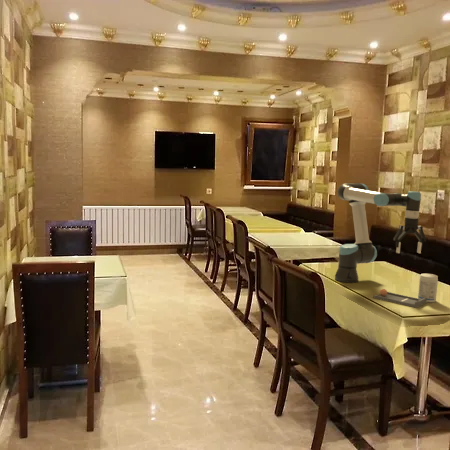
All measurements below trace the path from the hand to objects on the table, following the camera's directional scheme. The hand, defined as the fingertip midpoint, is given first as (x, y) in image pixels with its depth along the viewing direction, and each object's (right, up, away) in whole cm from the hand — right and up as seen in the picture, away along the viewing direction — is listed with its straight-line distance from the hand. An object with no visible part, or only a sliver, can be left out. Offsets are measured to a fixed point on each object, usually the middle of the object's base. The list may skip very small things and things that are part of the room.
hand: (408, 253), depth 285 cm
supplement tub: (+6, -27, -13) cm, 30 cm away
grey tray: (-11, -26, -14) cm, 32 cm away
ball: (-18, -22, -9) cm, 30 cm away
